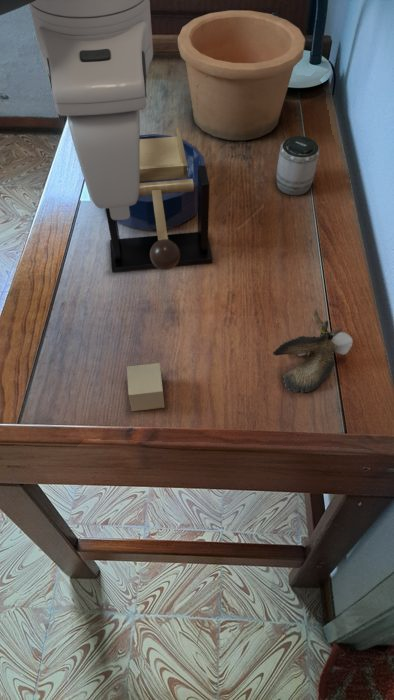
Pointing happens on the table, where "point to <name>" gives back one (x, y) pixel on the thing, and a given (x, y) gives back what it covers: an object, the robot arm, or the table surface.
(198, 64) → the pottery
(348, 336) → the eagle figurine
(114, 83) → the robot arm
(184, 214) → the navy blue bowl
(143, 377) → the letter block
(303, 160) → the camera lens
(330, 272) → the table surface
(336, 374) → the table surface
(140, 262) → the stand
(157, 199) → the tan piece
